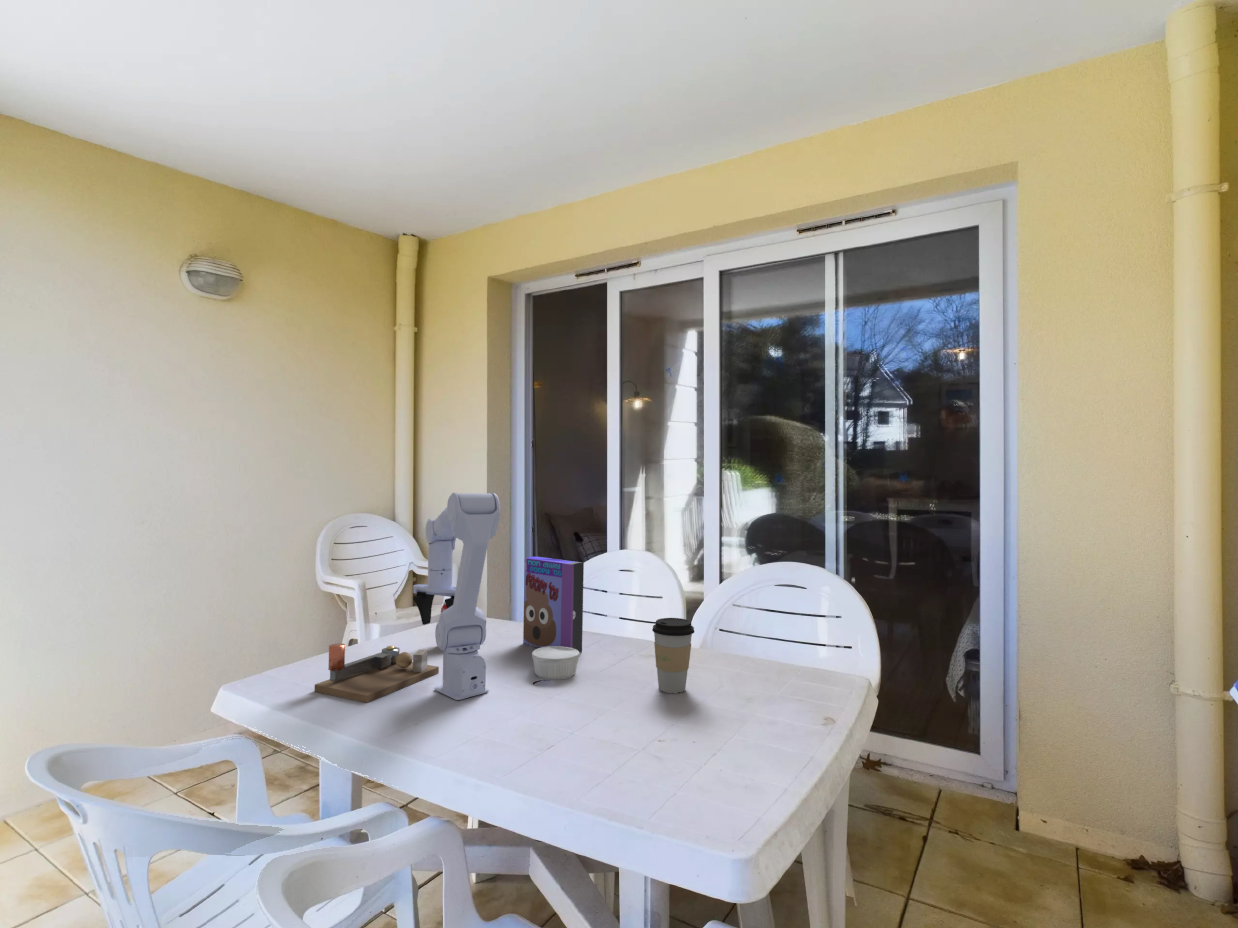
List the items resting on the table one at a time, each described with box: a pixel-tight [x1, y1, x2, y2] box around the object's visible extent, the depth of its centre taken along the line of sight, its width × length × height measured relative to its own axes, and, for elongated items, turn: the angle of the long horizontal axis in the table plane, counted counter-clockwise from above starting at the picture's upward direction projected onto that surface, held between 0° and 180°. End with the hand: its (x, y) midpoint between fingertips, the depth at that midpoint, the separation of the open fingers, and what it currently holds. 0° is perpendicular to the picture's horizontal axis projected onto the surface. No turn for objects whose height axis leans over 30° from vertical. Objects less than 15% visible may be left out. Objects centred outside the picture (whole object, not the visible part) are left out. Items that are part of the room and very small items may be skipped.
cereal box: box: [522, 556, 585, 654], centre depth 176 cm, size 17×5×24 cm, turn 53°
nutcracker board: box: [314, 649, 440, 704], centre depth 145 cm, size 22×15×6 cm
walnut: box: [396, 651, 413, 668], centre depth 150 cm, size 4×4×4 cm
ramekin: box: [531, 646, 580, 681], centre depth 153 cm, size 11×11×5 cm
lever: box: [328, 643, 401, 682], centre depth 147 cm, size 20×5×8 cm, turn 156°
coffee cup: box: [651, 617, 695, 694], centre depth 144 cm, size 9×9×15 cm
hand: (439, 625), depth 155 cm, fingers open, 7 cm apart
